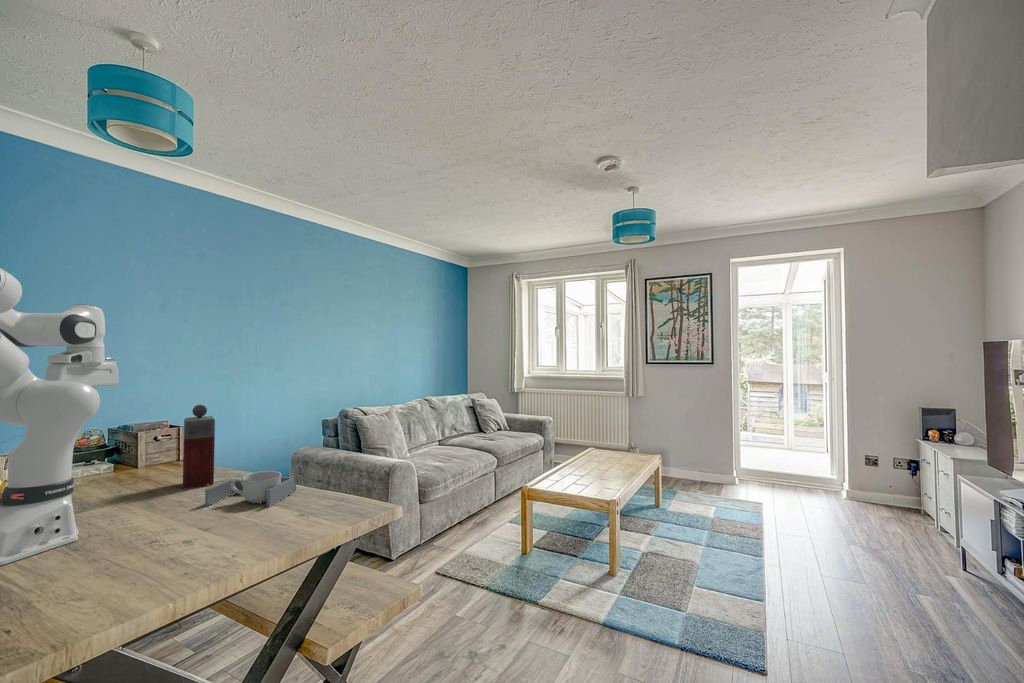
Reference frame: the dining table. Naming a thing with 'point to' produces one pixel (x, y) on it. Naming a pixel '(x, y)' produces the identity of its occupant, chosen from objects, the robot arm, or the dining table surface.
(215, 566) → the dining table surface
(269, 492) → the box
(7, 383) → the robot arm
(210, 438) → the dark red piece
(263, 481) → the teacup
